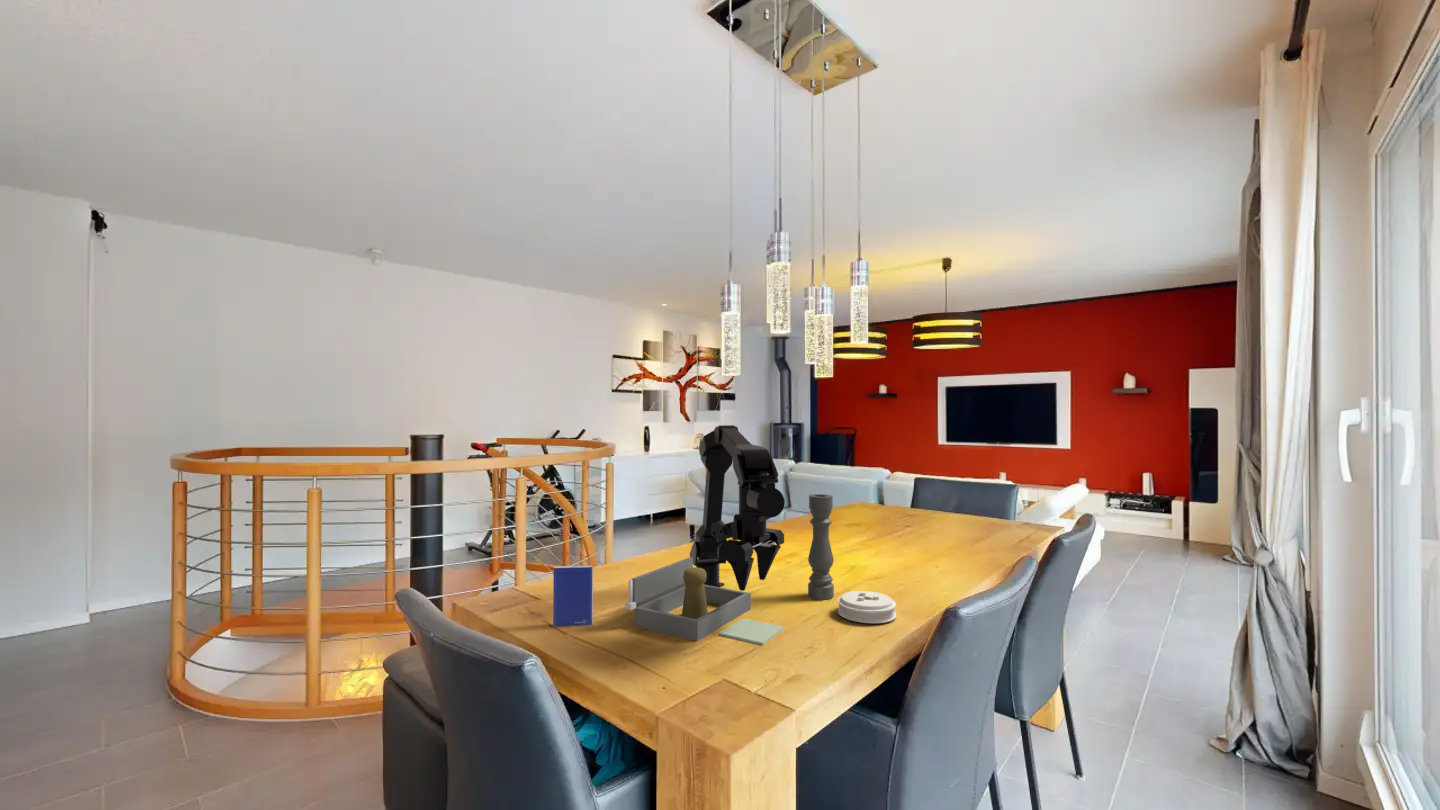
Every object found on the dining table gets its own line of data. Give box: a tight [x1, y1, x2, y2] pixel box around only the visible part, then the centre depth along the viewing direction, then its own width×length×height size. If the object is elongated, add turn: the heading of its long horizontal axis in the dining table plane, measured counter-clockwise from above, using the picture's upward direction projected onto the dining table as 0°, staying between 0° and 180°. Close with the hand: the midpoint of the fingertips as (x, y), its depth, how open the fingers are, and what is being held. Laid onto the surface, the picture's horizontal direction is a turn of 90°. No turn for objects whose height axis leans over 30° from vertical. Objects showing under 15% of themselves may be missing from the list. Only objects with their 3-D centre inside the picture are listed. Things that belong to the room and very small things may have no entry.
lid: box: [837, 590, 897, 624], centre depth 135 cm, size 13×13×5 cm
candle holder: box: [807, 493, 835, 602], centre depth 148 cm, size 6×6×25 cm
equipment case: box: [624, 556, 752, 642], centre depth 133 cm, size 24×17×10 cm
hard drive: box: [552, 565, 594, 627], centre depth 129 cm, size 2×8×12 cm, turn 95°
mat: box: [718, 618, 786, 646], centre depth 125 cm, size 10×10×1 cm
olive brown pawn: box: [681, 566, 709, 619], centre depth 133 cm, size 6×6×11 cm
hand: (752, 584), depth 125 cm, fingers open, 8 cm apart
